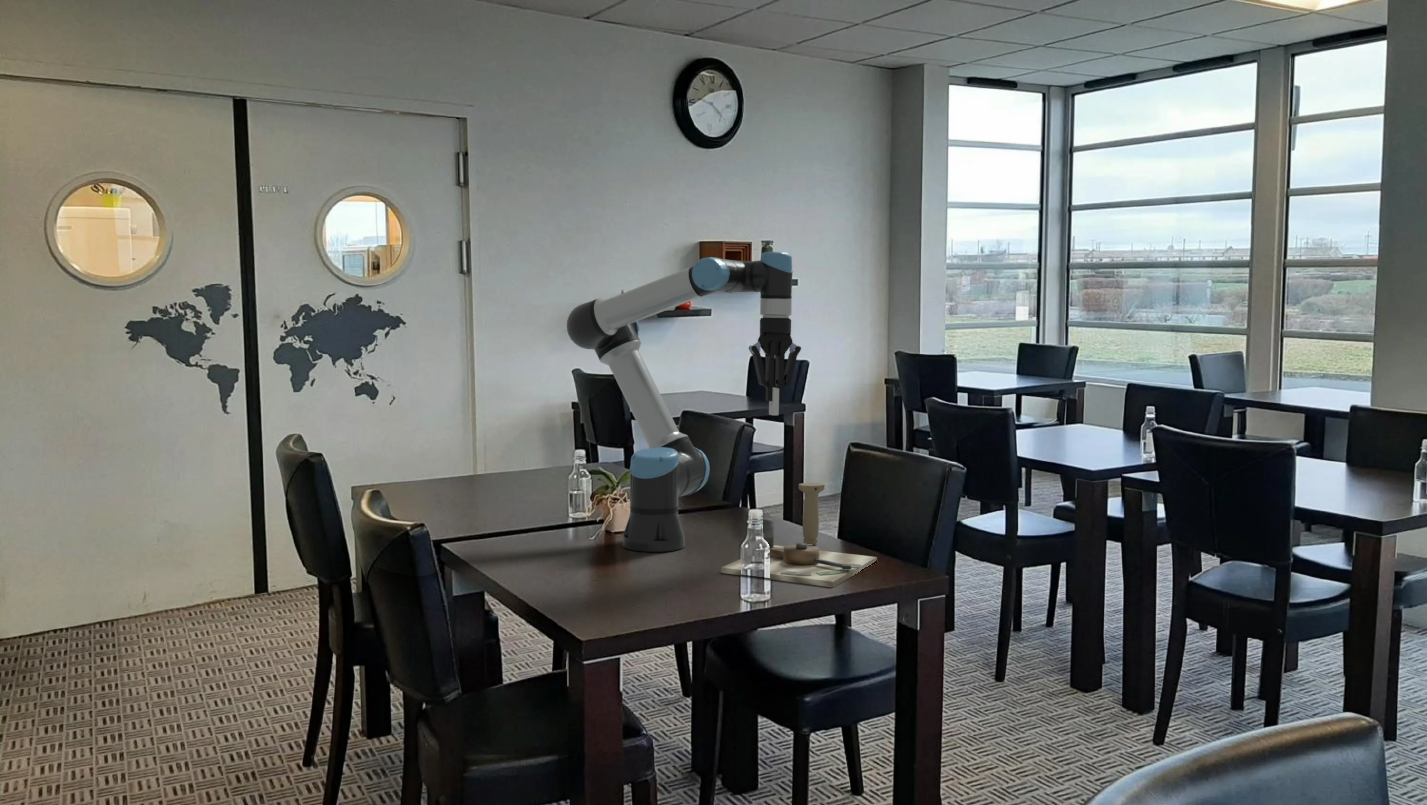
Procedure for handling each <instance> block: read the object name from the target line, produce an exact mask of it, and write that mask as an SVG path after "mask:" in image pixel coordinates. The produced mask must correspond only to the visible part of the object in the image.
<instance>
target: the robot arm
mask: <svg viewBox="0 0 1427 805" xmlns="http://www.w3.org/2000/svg"><path fill="white" fill-rule="evenodd" d="M793 273H794V270H793V257H792V255H791V253H788V252H785V251H784V252H783V251H765V252H762V253H761V255H760V260H755V261H753V260H735V259H725V258H719V257H716V256H714V257H713V256H710V257H703V258H700V259H699V260H698V261H696V263H695V264H694V265H693V266H690V267H687V268H684V269H682V270H679V271H676V272H675V273H674V272H673V273H671V274H669V275H667V276H664V277H662V278H659V279H656V280H653V281H652V282H649V283H645V284H643V285H641V286H638V287H636V288H633V289H631V290H628V291H626V292H623V293H621V294H618V295H615V296H613V297H610V298H608V299H606V298H604V297H599V298H596V299H593V300H590V301H588V302H584V303H582V304H579V305H577V306H576V307H574V308H573V310H571V311H570V313H569V315H568V317H567V320H566V331H567V333H568V334H567V335H568V337H569V338H570V340H571V341H572V342H573V343H574V344H575V345H576V346H577V347H580V348H582V349H585V350H594V352H595V355H597V358H598V360H599V362H600V363H602V364H604V365H607V366H608V367H609V369H610V371H611V372H612V375H613V377H614V378H615V380H616V383H617V385H618V387H619V389H620V391H621V392H622V395H623V397H624V399H625V401H626V403H627V405H628V408H629V409H630V411H631V413H632V416H633V417H634V419H635V421H636V423H637V425H638V427H639V429H640V431H641V433H642V435H643V437H644V440H645V442H646V443H647V445H648V448H642V449H639V450H637V451H636V452H634V453H633V454H632V455H631V458H630V466H629V480H630V481H629V516H628V519H627V523H626V526H625V528H624V532H623V535H622V547H623V548H624V549H627V550H630V551H636V552H649V553H660V552H663V553H664V552H671V551H678V550H681V549H683V548H685V546H686V544H685V543H686V536H685V534H684V530H683V526H682V524H681V521H680V520H681V519H680V518H679V497H684V496H690V495H692V494H694V493H696V492H698V491H700V490H701V489H702V488H703V487H705V485H706V483H707V482H708V479H709V476H710V472H711V471H710V469H711V467H710V462H709V459H708V457H707V456H706V454H705V453H704V452H703V451H702V450H701V449H698V448H697V447H695V446H694V445H693V444H692V441H691V439H690V438H689V436H688V434H685V433H683V432H680V431H679V429H678V426H677V424H676V423H675V420H674V419H673V417H672V414H671V412H670V411H669V409H668V406H667V405H666V403H665V401H664V399H663V397H662V395H661V393H660V391H659V389H658V387H657V385H656V383H655V381H654V379H653V376H652V375H651V372H650V371H649V369H648V367H647V365H646V362H645V361H644V359H643V356H642V355H641V352H640V348H641V345H642V341H641V340H640V338H639V331H640V324H639V322H640V321H642V320H644V319H647V318H649V317H652V316H655V315H657V314H660V313H662V312H665V311H668V310H671V309H673V308H676V307H679V306H681V305H683V304H686V303H688V302H691V301H694V300H697V299H699V298H703V297H705V296H708V295H711V294H713V293H717V292H722V293H723V292H724V293H754V292H755V293H760V297H759V298H760V302H759V304H760V306H759V307H760V308H759V309H760V310H759V315H760V316H762V317H761V318H760V319H759V337H758V339H757V342H756V343H755V344H753V345H749V346H748V350H749V352H750V354H751V355H752V359H753V364H754V367H755V368H754V369H755V374H756V377H757V383H758V385H761V386H763V387H764V388H765V400H766V402H768V415H770V416H779V414H780V413H779V411H780V406H779V405H780V402H782V400H783V390H784V388H785V387H787V386H790V385H791V382H792V377H793V374H794V369H795V366H796V362H797V358H798V355H799V354H800V352H801V351H802V347H801V346H799V345H797V344H796V343H794V342H793V338H792V335H791V334H792V319H791V318H790V316H791V315H792V302H793V301H792V292H793V291H792V288H793ZM761 349H762V352H763V353H764V359H765V367H764V365H763V359H762V356H761ZM788 350H789V353H788V357H787V361H786V364H785V359H786V358H785V357H786V355H785V354H786V353H787V352H788ZM764 368H765V369H764ZM784 368H785V369H784ZM774 370H775V371H774ZM774 373H775V374H774ZM774 377H775V378H774ZM774 380H775V381H774ZM774 385H775V387H774Z"/></svg>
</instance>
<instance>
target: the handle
mask: <svg viewBox="0 0 1427 805" xmlns="http://www.w3.org/2000/svg"><path fill="white" fill-rule="evenodd" d="M798 490H799V491H801V492H802V493H804V494H803V495H804V499H803V500H804V501H803V502H804V503H803V514H802V536H803V543H806V544H816V543H817V544H818V539H817V538H818V536H819V526H820V518H819V516H820V514H819V494H820V493H821V492H823V491H824V490H825V484H824V483H820V482H804V483H803V482H802V483H799V484H798ZM817 544H816V545H817Z"/></svg>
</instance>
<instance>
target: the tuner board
mask: <svg viewBox="0 0 1427 805" xmlns="http://www.w3.org/2000/svg"><path fill="white" fill-rule="evenodd" d="M785 546H786V545H776V544H773V547H777V548H782V549H784V547H785ZM741 559H742V558H740V559H738V560H735V561H733V562H731V563H729V564H726V565H724V566H721V569H720V570H721V571H720V574H721V573H722V574H728V575H737V576H742V575H741ZM819 559H821V560H826V561H831V562H836V563H841V564H850V565H851V569H842V568H840V567H835V566H830V565H825V564H820V563H816V564H810V565H798V564H790V563H786V562H784V561H783V558H782V557H777V556H772V555H770V579H769V580H774V581H782V582H789V583H796V584H804V585H812V586H819V587H826V588H827V587H829V588H835V587H836V586H838V585H840V584H841V583H843V582H845V581H847V580H848V579H850V578H852V577H853V576H856V575H857V574H859V573H861V572H862V571H861V570H862V569H864V568H865V567H868V566H869V565H871V564H872V563H874V562H875V561H876V560H877V561H878V557H877V556H870V555H863V554H861V555H860V554H853V553H845V552H835V551H827V550H820V549H819ZM871 566H872V565H871ZM868 568H869V567H868ZM864 570H865V569H864ZM860 571H861V572H860ZM858 572H859V573H858ZM855 574H856V575H855Z"/></svg>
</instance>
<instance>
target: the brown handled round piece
mask: <svg viewBox="0 0 1427 805" xmlns="http://www.w3.org/2000/svg"><path fill="white" fill-rule="evenodd" d="M762 519H763V533H764V539H765V540H766V541H767V542H768V544H769V546H770V555H772V556H777V557H782V558H783V561H784V562H786V563H790V564H798V565H810V564H816V563H820V564H825V565H830V566H835V567H840V568H842V569H851V565H850V564H841V563H836V562H831V561H826V560H821V559H819V550H820V548H819V547H818V546H815V545H807V544H806V543H804V542H798V543H797V542H796V544H791V545H790V544H789V545H784V546H785V547H784V549H782V548H777V547H773V545H774V539H775V538H774V537H775V535H774V533H775V530H774V529H775V519H773V518H762Z"/></svg>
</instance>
